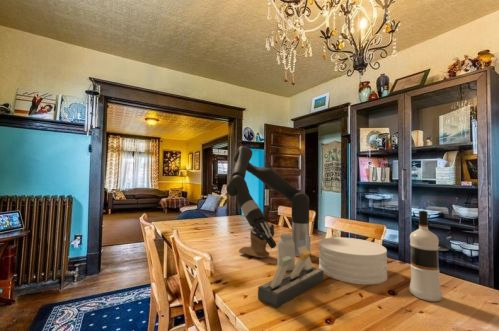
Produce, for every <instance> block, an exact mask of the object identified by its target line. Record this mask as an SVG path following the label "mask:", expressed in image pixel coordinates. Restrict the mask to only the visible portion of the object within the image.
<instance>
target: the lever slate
mask: <svg viewBox="0 0 499 331" xmlns="http://www.w3.org/2000/svg"><path fill="white" fill-rule="evenodd" d="M296 245H297V248H298V250H299V253H300V255H301V253H302V252H305V251H307V248H306V246H305V242H304V240H301V241H297V242H296ZM303 267H305V270H306V271H309V270H311V269H313V267H314V265H313V263H312V260H311V257H310V256H309V258H308V259H307V261H306V263H305V264H304V266H303Z"/></svg>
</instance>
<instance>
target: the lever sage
mask: <svg viewBox="0 0 499 331" xmlns="http://www.w3.org/2000/svg"><path fill="white" fill-rule="evenodd" d="M291 260H292V258H291V257H290V256H286V257H284V258H281V260H280V262H279V266H277V267H276V271H275V273H274V275H273V279H272V280H271V281H272V282H271V285H270V289H272V288H275V287H277V286H279V285H280V284H281V282H282V279H283V277H284V275H286V273H287V271H286V270H287V268H288V265H289V264H290V262H291Z"/></svg>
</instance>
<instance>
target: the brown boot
mask: <svg viewBox="0 0 499 331" xmlns="http://www.w3.org/2000/svg"><path fill="white" fill-rule="evenodd" d="M252 230H253V227H252V226H251V229H250V235H249V236H250V246H243V247H240V248H239V250H238V252H239V253H241V254H242V255H243V254H244V255H247V256H250V257H251V256H252V257H255V258H259V259H260V258H261V259H263V258H267V257H269V256H270V252H269V251H267V245H268V243H267V242H266V241H265V240H263V241H262V240H260V239H259V238H257V237H256V236H254V235H253V234H252V233H251V231H252Z"/></svg>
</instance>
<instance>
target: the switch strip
mask: <svg viewBox="0 0 499 331" xmlns="http://www.w3.org/2000/svg"><path fill="white" fill-rule="evenodd" d="M291 273H292V271H290V272H289V273H285V275H284V277H283V279H282V282H281V284H280V285H279V286H277V287H275V288H272V289H270V285H271V282H272V280H271V281H268V282H266V283H264V284H262V285H259V286H257V299H258V300H259V301H260V302H263V303H265V304H267V305H268V306H271V307H272V308H274V309H278V308H280V307H282V306H284V305H285V304H287V303H288V302H290V301H293V299H296V298H297V297H299V296H301V295H302V294H304V293H306V292H307V291H309V290H310V289H312V288H314V287H316V286H318V285H319V284H321V283H323V282H324V281H325V278H324V275H325V274H324V271H323V270H320V269H319V268H316V267H314V266H313V269H311V270H309V271H306V270H305V267H304V266H303V268H302V270H301V272H300V274H299V276H297V277H295V278H293V279H291V280H290V279H289V278H290V275H291Z"/></svg>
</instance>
